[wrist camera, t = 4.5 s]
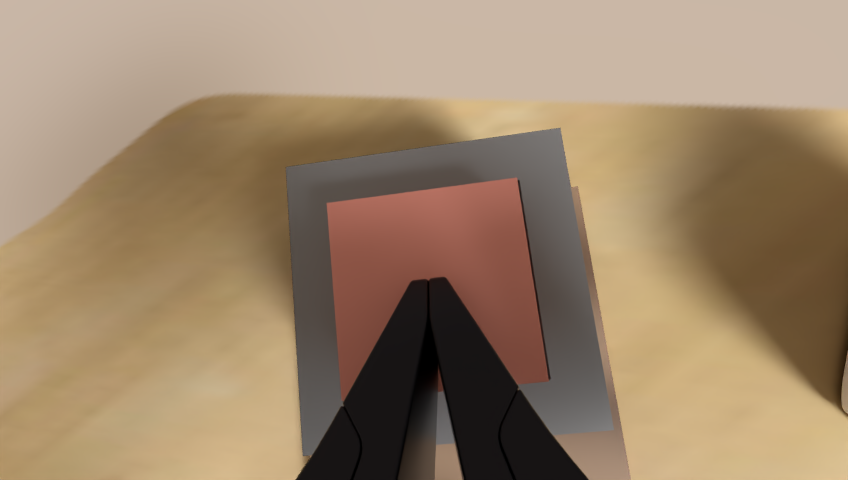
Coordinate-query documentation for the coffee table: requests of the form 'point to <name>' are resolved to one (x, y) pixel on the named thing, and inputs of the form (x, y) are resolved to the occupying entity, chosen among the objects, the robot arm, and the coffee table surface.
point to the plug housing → (548, 250)
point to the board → (589, 450)
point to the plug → (436, 268)
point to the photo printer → (845, 387)
